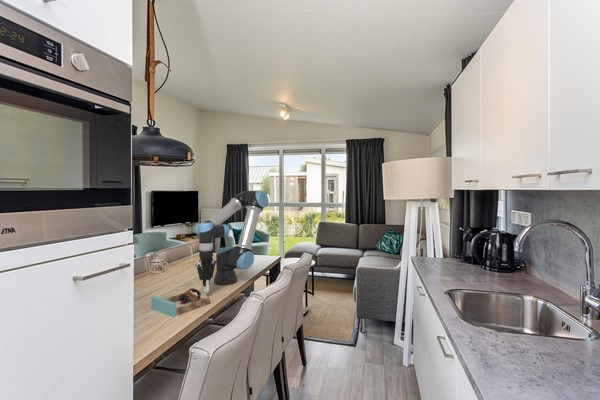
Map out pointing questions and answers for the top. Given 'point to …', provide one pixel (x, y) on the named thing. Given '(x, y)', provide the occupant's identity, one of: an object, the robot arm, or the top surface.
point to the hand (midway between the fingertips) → (206, 291)
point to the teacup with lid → (157, 265)
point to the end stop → (163, 306)
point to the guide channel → (189, 306)
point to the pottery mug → (184, 296)
